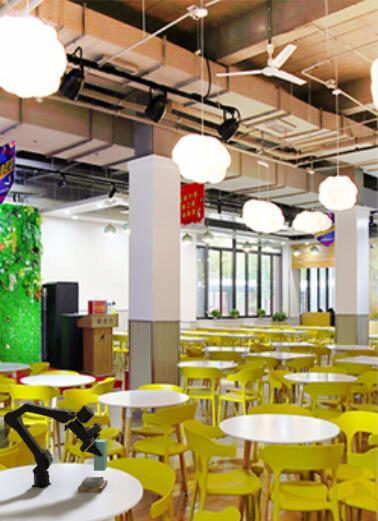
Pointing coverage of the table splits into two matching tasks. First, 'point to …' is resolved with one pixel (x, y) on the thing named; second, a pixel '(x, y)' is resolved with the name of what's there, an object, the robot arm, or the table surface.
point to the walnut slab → (93, 488)
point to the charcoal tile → (92, 482)
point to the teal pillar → (101, 462)
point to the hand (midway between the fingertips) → (103, 454)
